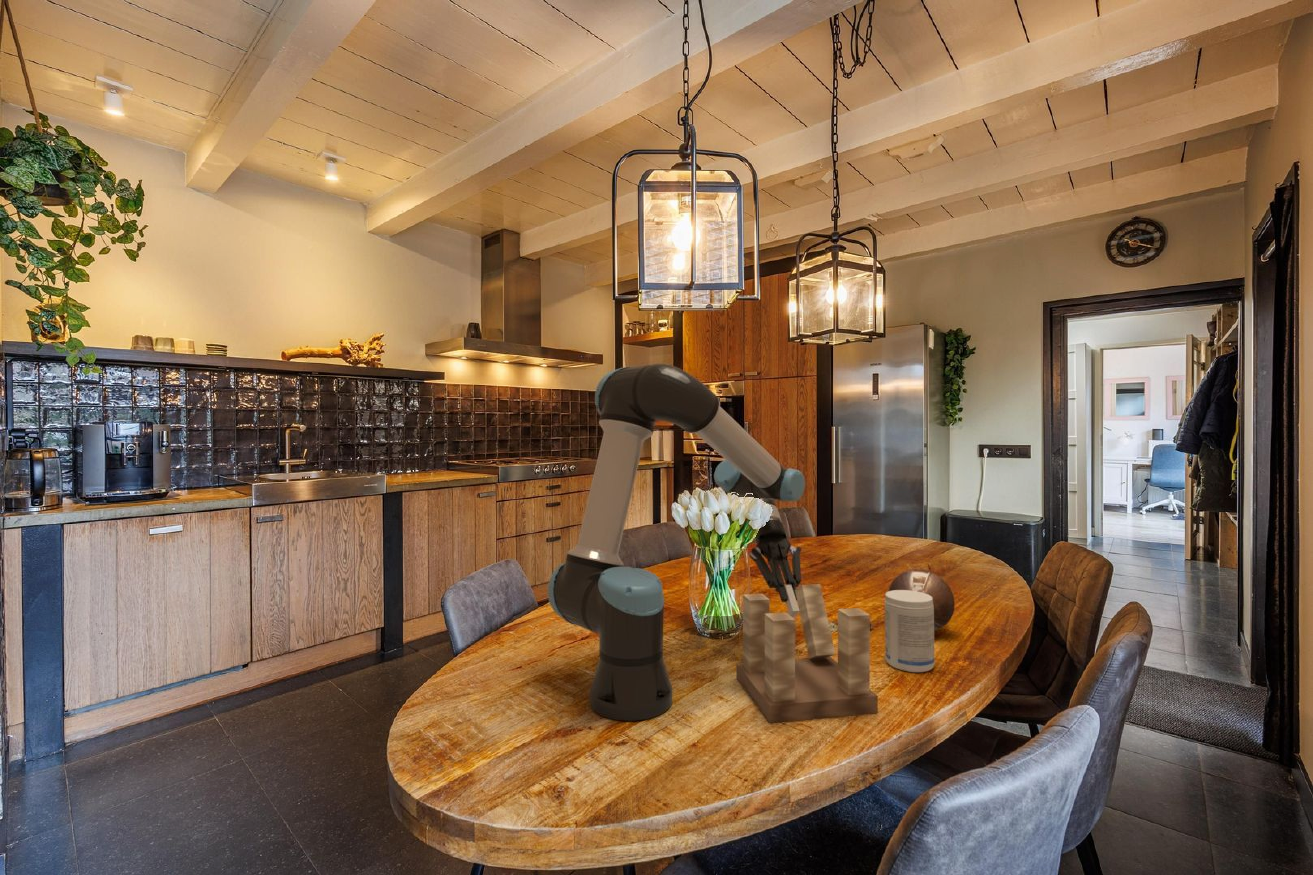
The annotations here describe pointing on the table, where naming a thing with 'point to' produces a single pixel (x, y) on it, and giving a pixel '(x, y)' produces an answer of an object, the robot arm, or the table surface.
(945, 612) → the brown metallic ball
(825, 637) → the hinged leg
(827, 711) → the stool seat
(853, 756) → the table surface
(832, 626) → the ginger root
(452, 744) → the table surface
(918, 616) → the supplement tub
